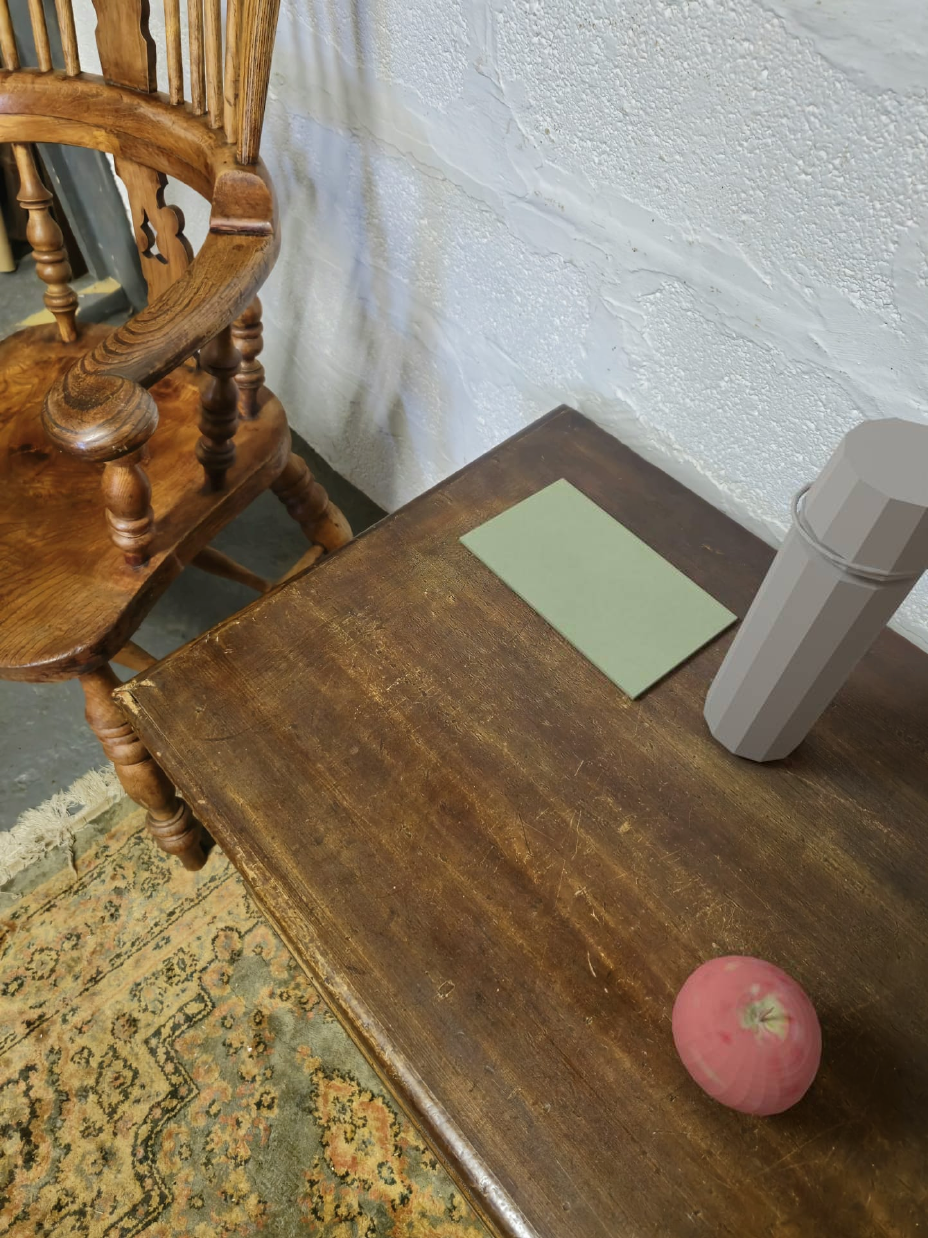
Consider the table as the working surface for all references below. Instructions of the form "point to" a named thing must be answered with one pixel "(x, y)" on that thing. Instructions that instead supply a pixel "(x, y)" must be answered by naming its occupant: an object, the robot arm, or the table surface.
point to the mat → (599, 585)
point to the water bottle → (826, 590)
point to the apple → (747, 1034)
